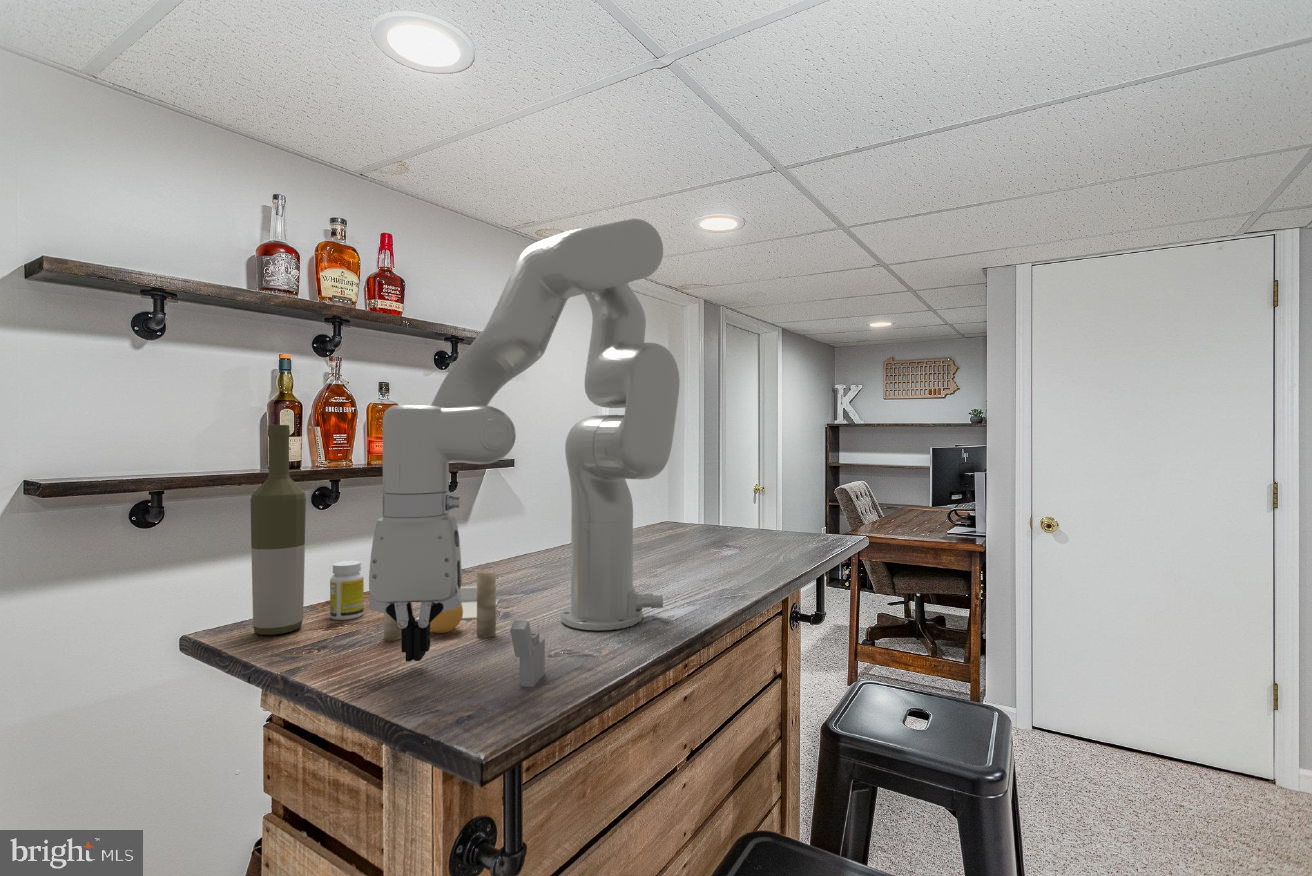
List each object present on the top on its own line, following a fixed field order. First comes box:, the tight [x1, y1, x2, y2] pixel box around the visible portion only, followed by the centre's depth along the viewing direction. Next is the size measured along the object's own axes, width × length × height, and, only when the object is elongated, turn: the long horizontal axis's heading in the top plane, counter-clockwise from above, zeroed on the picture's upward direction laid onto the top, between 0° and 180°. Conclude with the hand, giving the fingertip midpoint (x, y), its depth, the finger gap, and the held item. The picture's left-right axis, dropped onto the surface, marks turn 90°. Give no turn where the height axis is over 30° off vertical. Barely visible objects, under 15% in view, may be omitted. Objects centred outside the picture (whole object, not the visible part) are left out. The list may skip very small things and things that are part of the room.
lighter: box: [509, 619, 546, 688], centre depth 73 cm, size 7×2×8 cm, turn 172°
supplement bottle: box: [329, 560, 365, 621], centre depth 101 cm, size 5×5×8 cm
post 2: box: [476, 569, 497, 639], centre depth 91 cm, size 3×3×9 cm
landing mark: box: [415, 598, 500, 621], centre depth 104 cm, size 11×11×1 cm
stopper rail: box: [459, 585, 477, 602], centre depth 109 cm, size 10×1×2 cm, turn 96°
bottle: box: [250, 424, 307, 636], centre depth 93 cm, size 7×7×30 cm
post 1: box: [383, 613, 401, 642], centre depth 90 cm, size 3×3×9 cm
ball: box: [430, 604, 463, 634], centre depth 92 cm, size 6×6×6 cm
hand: (415, 657), depth 78 cm, fingers closed
